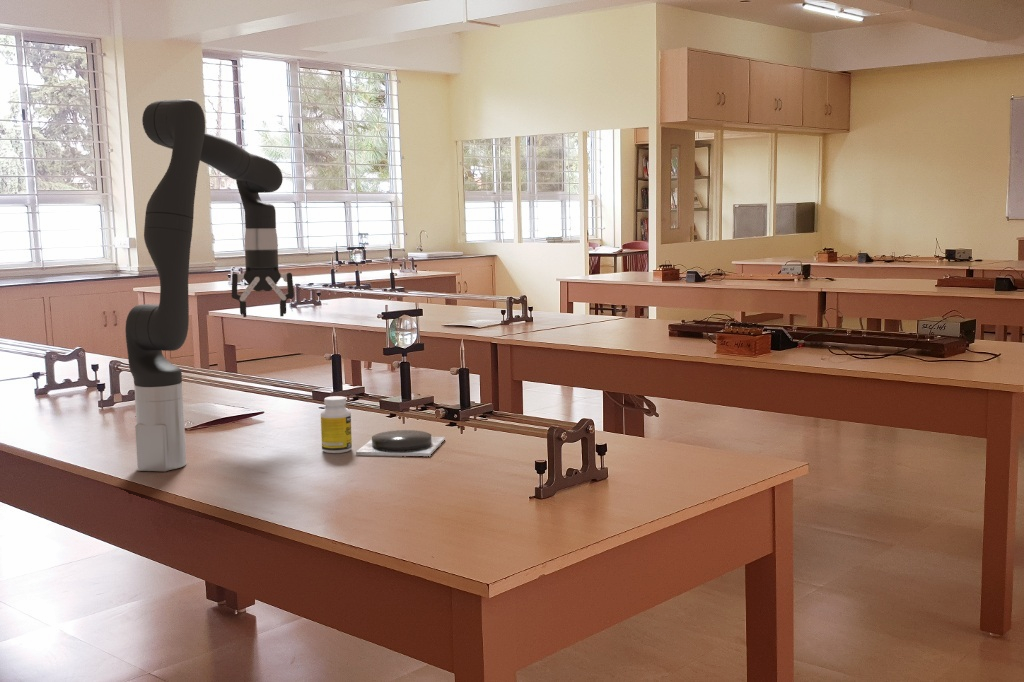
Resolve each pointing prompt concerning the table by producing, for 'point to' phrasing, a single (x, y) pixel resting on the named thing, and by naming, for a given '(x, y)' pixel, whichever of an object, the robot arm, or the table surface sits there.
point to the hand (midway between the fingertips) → (263, 316)
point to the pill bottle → (336, 425)
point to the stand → (401, 444)
